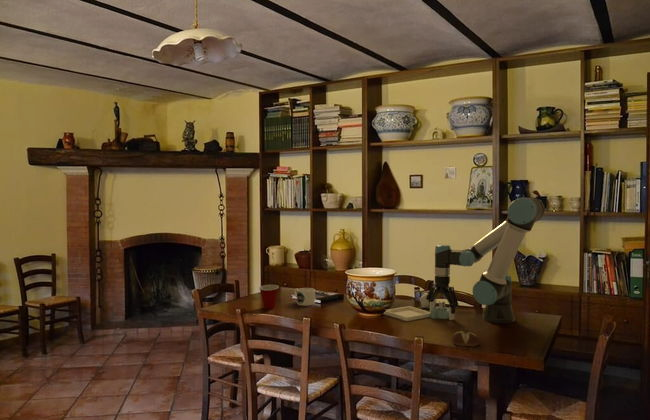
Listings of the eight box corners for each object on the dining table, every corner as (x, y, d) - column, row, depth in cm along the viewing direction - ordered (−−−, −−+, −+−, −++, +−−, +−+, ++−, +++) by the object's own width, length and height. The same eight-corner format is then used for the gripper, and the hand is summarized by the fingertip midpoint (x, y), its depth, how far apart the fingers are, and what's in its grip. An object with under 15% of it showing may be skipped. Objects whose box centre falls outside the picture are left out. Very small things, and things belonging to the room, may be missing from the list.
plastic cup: (254, 308, 278) (254, 287, 278) (267, 305, 288) (267, 283, 287) (271, 311, 273) (270, 289, 272) (282, 307, 282) (282, 285, 282)
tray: (433, 316, 262) (433, 312, 262) (406, 321, 252) (406, 317, 252) (409, 309, 277) (409, 306, 277) (383, 314, 267) (383, 310, 267)
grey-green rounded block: (441, 313, 267) (441, 306, 267) (453, 317, 260) (454, 309, 260) (426, 316, 261) (426, 308, 261) (438, 320, 254) (438, 312, 254)
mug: (318, 303, 293) (318, 289, 293) (308, 306, 284) (308, 292, 284) (299, 300, 300) (299, 286, 300) (288, 303, 291) (288, 289, 291)
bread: (450, 346, 214) (451, 334, 214) (454, 338, 225) (454, 327, 224) (478, 349, 210) (478, 337, 210) (480, 341, 221) (481, 330, 220)
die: (438, 308, 284) (430, 292, 288) (440, 303, 276) (431, 287, 281) (424, 314, 283) (416, 298, 288) (425, 309, 275) (417, 293, 280)
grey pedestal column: (450, 317, 260) (450, 302, 260) (441, 319, 257) (442, 303, 257) (441, 315, 265) (441, 300, 265) (433, 316, 262) (433, 301, 262)
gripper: (466, 278, 252) (465, 321, 253) (430, 271, 273) (429, 311, 274) (455, 279, 248) (455, 323, 249) (419, 272, 269) (419, 312, 270)
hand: (441, 317), depth 261 cm, fingers open, 13 cm apart
